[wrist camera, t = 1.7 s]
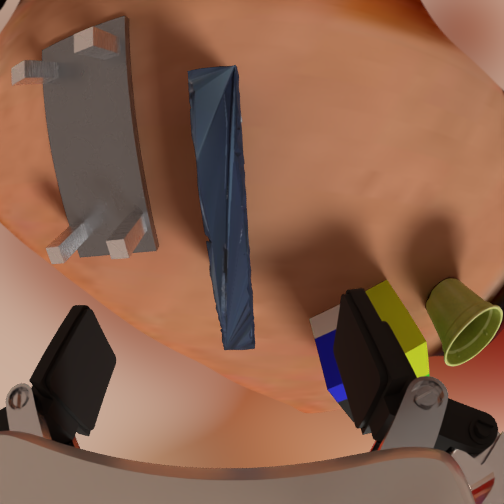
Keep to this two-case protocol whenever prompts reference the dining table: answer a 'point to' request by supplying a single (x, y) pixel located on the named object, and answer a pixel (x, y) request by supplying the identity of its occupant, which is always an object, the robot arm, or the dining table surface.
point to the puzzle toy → (388, 311)
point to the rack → (94, 142)
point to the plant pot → (462, 320)
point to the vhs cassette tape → (223, 198)
